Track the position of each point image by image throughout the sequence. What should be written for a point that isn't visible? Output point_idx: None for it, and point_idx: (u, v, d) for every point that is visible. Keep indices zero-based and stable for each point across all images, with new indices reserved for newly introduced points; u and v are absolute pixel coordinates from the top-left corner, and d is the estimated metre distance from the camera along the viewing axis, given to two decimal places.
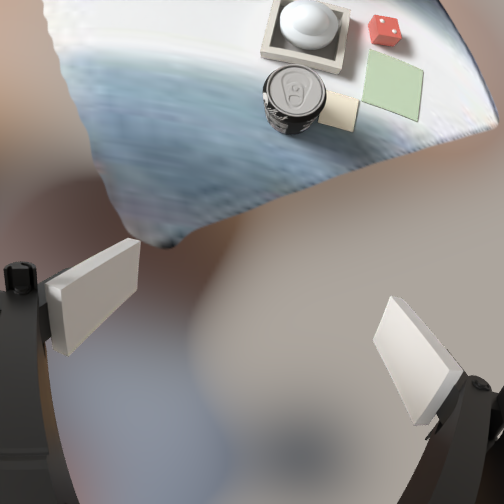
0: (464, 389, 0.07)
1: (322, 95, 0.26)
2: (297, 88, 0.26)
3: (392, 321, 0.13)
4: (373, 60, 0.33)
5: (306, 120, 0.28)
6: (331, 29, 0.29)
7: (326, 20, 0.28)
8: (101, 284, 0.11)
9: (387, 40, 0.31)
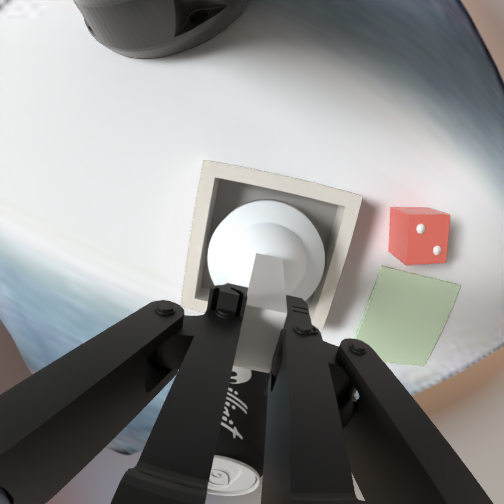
0: (286, 339, 0.09)
1: (256, 481, 0.15)
2: (219, 474, 0.15)
3: None
4: (383, 289, 0.23)
5: None
6: (307, 281, 0.19)
7: (298, 277, 0.18)
8: None
9: None
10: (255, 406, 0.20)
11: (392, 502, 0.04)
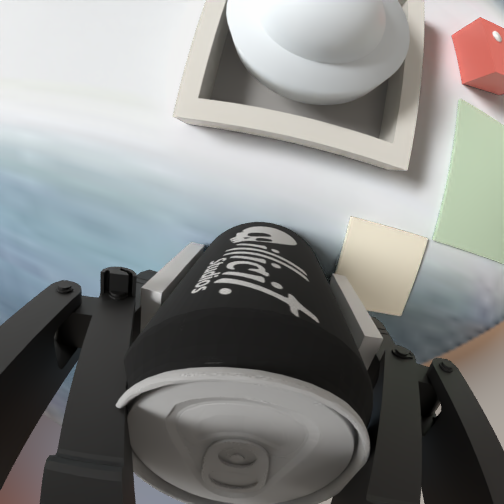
0: (384, 360, 0.08)
1: (350, 467, 0.05)
2: (244, 457, 0.05)
3: None
4: (467, 130, 0.13)
5: None
6: (391, 46, 0.09)
7: (381, 14, 0.07)
8: None
9: (500, 84, 0.10)
10: (320, 279, 0.09)
11: None
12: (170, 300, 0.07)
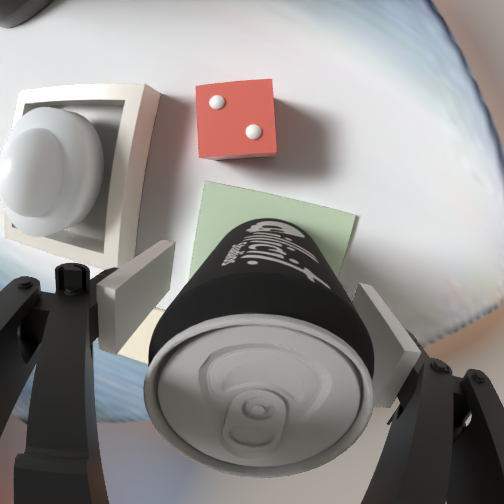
0: (422, 373, 0.08)
1: (356, 423, 0.07)
2: (264, 408, 0.07)
3: (359, 307, 0.14)
4: (211, 214, 0.17)
5: None
6: (66, 190, 0.13)
7: (41, 179, 0.12)
8: (145, 284, 0.12)
9: (241, 155, 0.15)
10: (326, 264, 0.11)
11: None
12: (200, 273, 0.09)
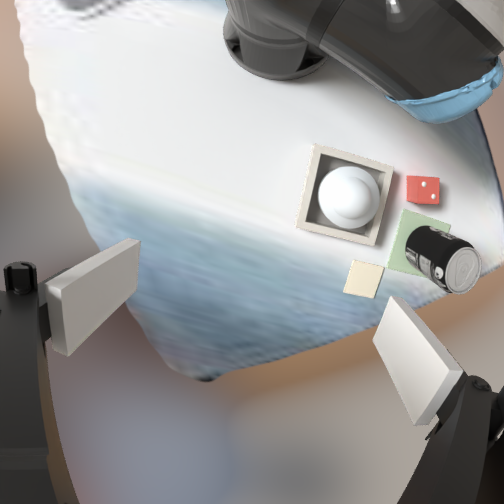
0: (464, 389, 0.07)
1: (477, 275, 0.28)
2: (464, 269, 0.28)
3: (392, 321, 0.13)
4: (405, 222, 0.39)
5: None
6: (371, 209, 0.34)
7: (369, 204, 0.33)
8: (101, 284, 0.11)
9: None
10: None
11: None
12: (444, 241, 0.30)
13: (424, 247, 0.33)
